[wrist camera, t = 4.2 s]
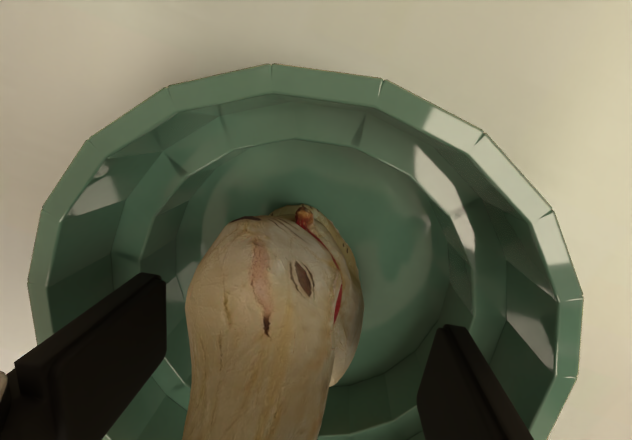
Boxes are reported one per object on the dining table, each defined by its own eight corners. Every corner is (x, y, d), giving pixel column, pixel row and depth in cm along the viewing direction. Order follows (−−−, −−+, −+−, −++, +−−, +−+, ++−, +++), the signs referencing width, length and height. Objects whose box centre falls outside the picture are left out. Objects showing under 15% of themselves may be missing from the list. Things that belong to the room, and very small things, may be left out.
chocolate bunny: (398, 213, 12) (584, 508, 3) (342, 364, 15) (340, 802, 5) (266, 175, 12) (6, 341, 3) (231, 332, 15) (25, 711, 5)
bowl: (140, 68, 12) (-18, 22, 7) (538, 123, 11) (707, 122, 6) (150, 377, 17) (61, 493, 11) (434, 429, 16) (479, 578, 11)
